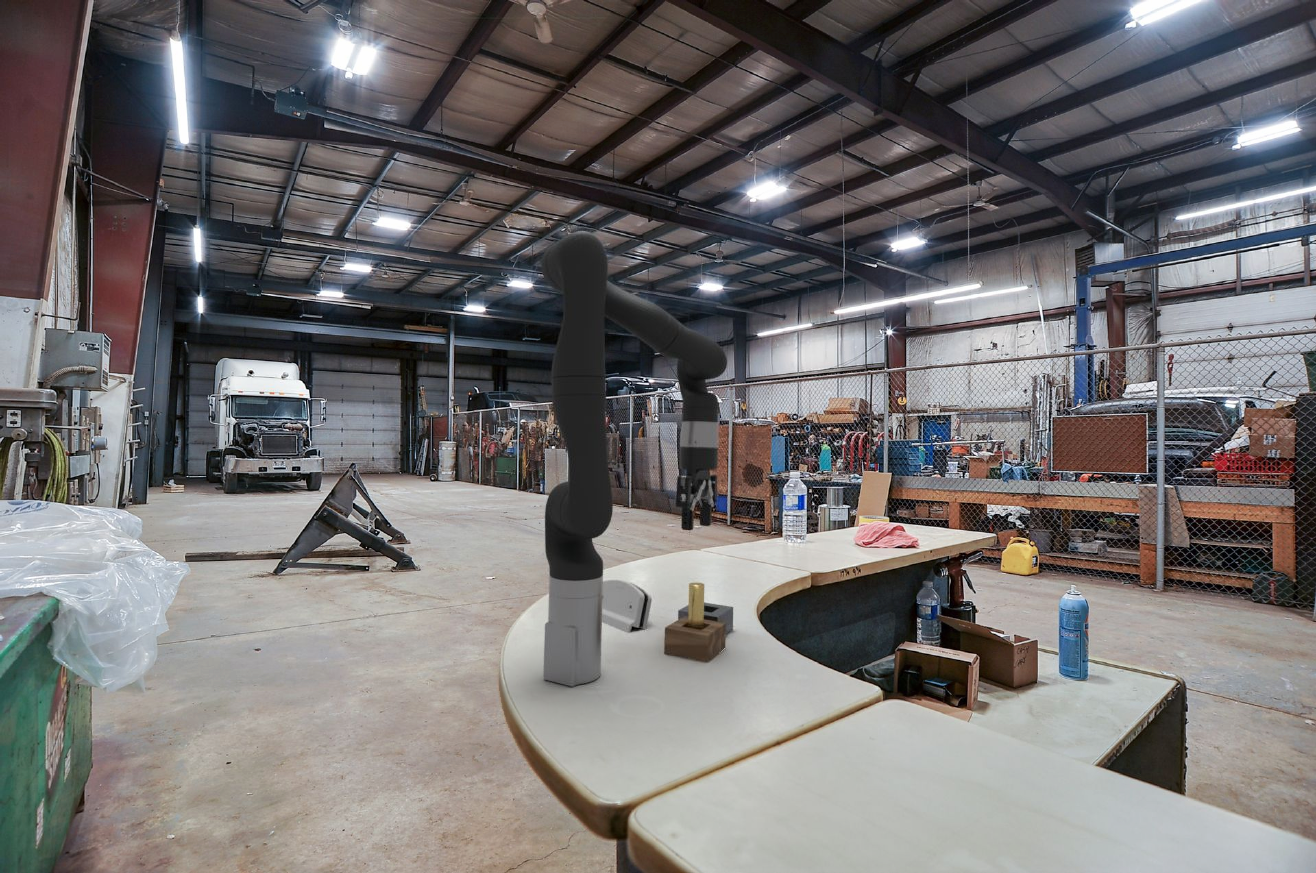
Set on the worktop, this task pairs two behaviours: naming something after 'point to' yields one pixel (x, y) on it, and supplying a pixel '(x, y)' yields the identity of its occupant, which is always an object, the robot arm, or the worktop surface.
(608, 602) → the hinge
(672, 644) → the mount
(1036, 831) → the worktop surface
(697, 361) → the robot arm
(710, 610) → the socket block
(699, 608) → the pin
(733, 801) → the worktop surface
